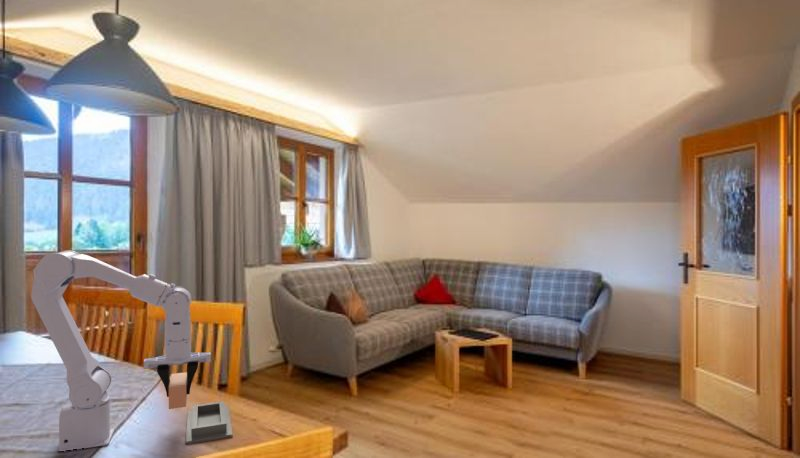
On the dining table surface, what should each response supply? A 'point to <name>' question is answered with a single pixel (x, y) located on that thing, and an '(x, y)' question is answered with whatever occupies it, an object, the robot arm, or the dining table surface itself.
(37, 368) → the dining table surface
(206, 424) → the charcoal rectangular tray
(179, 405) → the terracotta bar
